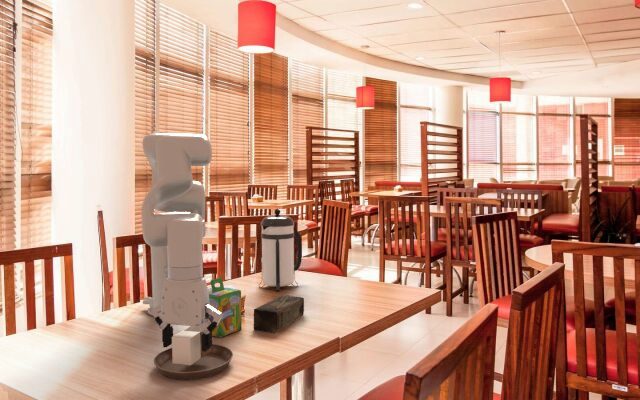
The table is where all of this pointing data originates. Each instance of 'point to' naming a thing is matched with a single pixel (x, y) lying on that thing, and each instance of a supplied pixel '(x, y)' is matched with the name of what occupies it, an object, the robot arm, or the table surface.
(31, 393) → the table surface
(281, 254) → the coffee press
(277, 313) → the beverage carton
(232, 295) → the chalk box
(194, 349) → the cream block
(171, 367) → the plant saucer
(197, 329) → the walnut block
